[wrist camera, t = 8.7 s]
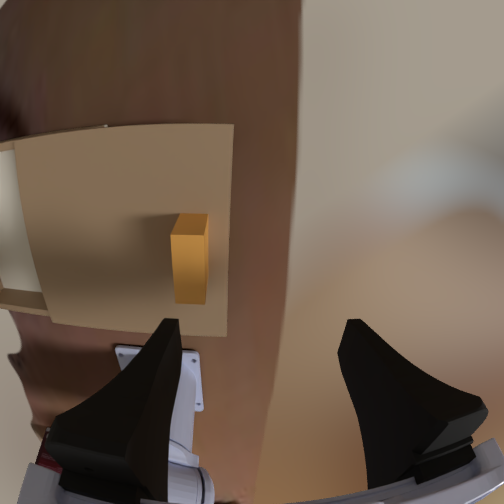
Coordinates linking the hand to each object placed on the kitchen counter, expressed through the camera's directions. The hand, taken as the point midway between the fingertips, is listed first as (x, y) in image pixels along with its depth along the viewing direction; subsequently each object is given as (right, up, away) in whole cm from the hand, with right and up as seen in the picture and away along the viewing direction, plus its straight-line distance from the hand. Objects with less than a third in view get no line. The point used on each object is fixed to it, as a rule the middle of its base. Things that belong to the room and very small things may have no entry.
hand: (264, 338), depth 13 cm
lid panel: (-9, +4, +5) cm, 11 cm away
